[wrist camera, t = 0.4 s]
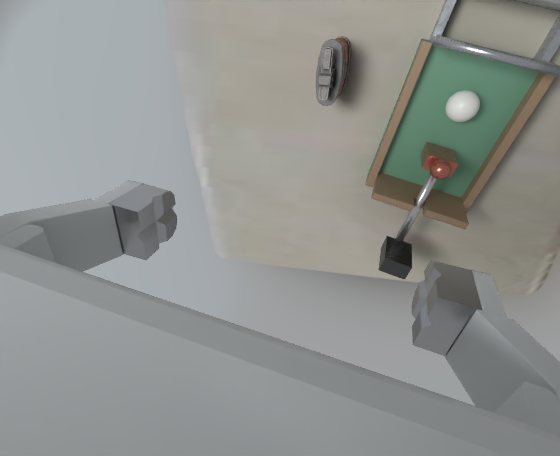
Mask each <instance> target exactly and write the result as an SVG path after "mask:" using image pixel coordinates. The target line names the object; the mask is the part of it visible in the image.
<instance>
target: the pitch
mask: <svg viewBox="0 0 560 456" xmlns="http://www.w3.org/2000/svg"><path fill="white" fill-rule="evenodd" d="M555 77H556V76H553V75H549V74H545V73H541V72H537V71H533V70H529V69H525V68H521V67H517V66H513V65H509V64H505V63H501V62H498V61H494V60H490V59H486V58H482V57H478V56H474V55H470V54H466V53H462V52H458V51H454V50H450V49H446V48H442V47H438V46H434V45H433V43H432V42H430V41H428V40H424V39H421V42H420V44H419V47H418V50H417V52H416V55H415V57H414V60H413V62H412V65H411V67H410V70H409V72H408V75H407V77H406V80H405V82H404V85H403V87H402V90H401V92H400V95H399V97H398V100H397V102H396V105H395V107H394V110H393V113H392V115H391V118H390V120H389V123H388V125H387V128H386V130H385V133H384V135H383V138H382V140H381V143H380V145H379V148H378V150H377V153H376V155H375V158H374V160H373V163H372V165H371V168H370V171H369V173H368V176H367V180H366V184H365V185H368V186H371V187H373V184H374V188H373V193H372V199H375V200H378V201H381V202H384V203H387V204H390V205H393V206H396V207H399V208H402V209H405V210H408V211H412V209H413V207H414V202H415V201H416V199H417V197H418V195H419V193H420V191H421V189H422V187H423V185H424V183H425V181H426V180H427V178H428V176H429V174H430V171H429V170H426V169H423V168H422V166H421V155H420V154H421V152H422V150H423V148H424V146H425V144H426V142H428V143H431V144H435V145H438V146H442V147H445V148H448V149H452V150H454V152H455V155H456V158H457V161H458V166H457V168H456V169H455V171H454V173H453V175H452V176H451V177H449V176H448V177H447V178H445V179H442V180H436V182H435V184H434V185H433V187H432V189H431V191H430V193H429V195H428V196H427V198H426V200H425V202H424V204H423V216H426V217H429V218H432V219H435V220H438V221H441V222H444V223H447V224H451V225H454V226H457V227H460V228H463V229H466V227H467V226H468V224H469V223H468V219H467V216H466V213H467V211H468V210H469V208H470V207H471V205H472V204H473V202H474V201H475V199H476V198H477V196H478V195H479V193H480V192H481V190H482V188H483V187H484V185H485V184H486V182H487V181H488V179H489V178H490V176H491V175H492V173H493V172H494V170H495V169H496V167H497V166H498V164H499V162H500V161H501V159H502V158H503V156H504V155H505V153H506V152H507V150H508V149H509V147H510V146H511V144H512V143H513V141H514V140H515V138H516V136H517V135H518V133H519V132H520V130H521V129H522V127H523V126H524V124H525V123H526V121H527V120H528V118H529V117H530V115H531V114H532V112H533V110H534V109H535V107H536V106H537V104H538V103H539V101H540V100H541V98H542V97H543V95H544V94H545V92H546V91H547V89H548V88H549V86H550V84H551V83H552V81H553V80H554V78H555ZM462 90H469V91H472V92H474V93H475V94H476V95H477V96H478V97H479V100H480V107H479V110H478V112H477V113H476V115H475V116H474V117H473V118H471V119H470V120H468V121H465V122H455V121H452V120H451V119H450V118H449V117H448V116H447V114H446V104H447V101H448V100H449V98H450V97H451V96H452V95H453V94H455V93H456V92H459V91H462Z"/></svg>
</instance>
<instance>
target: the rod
mask: <svg viewBox="0 0 560 456" xmlns="http://www.w3.org/2000/svg"><path fill="white" fill-rule="evenodd" d="M420 155H421V166H422V168H423V169H426V170H429V171H430V174H429V176H428V178H427V180H426V181H425V183H424V185H423V187H422V189H421V191H420V193H419V195H418V197H417V199H416V201H415V202H414V207H413V209H412V211H410V212H409V214H408V216H407V218H406V220H405V222H404V223H403V225H402V227H401V229H400V231H399V233H398V235H397V237H396V239H394V238H392V237H389V236H387V237H386V239H385V241H384V243H383V245H382V247H381V254H380V263H379V270H380V271H383V272H385V273H388V274H391V275H394V276H396V277H399V278H402V279H405V278H406V277H407V275H408V273H409V272H410V270H411V268H412V246H411V244H409V243H406V242H403V240H404V239H405V237H406V235H407V233H408V231H409V229H410V228H411V226H412V224H413V222H414V220H415V218H416V217H417V215H418V213H419V211H420V209H421V207H422V206H423V204H424V202H425V200H426V198H427V196H428V195H429V193H430V191H431V189H432V187H433V185H434V184H435V182H436V180H442V179H445V178H447V177H448V176H449V177H451V176H452V175H453V173H454V171H455V169H456V168H457V166H458V161H457V158H456V155H455V152H454V150H452V149H448V148H445V147H442V146H438V145H435V144H431V143H428V142H426V144H425V146H424V148H423V150H422V152H421V154H420Z"/></svg>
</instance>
